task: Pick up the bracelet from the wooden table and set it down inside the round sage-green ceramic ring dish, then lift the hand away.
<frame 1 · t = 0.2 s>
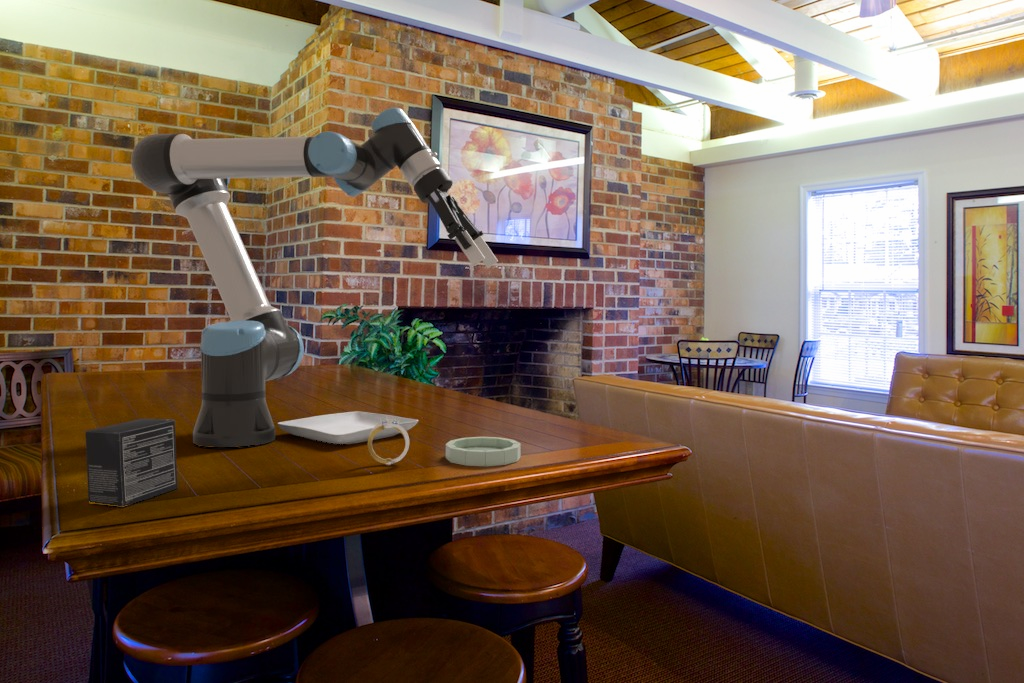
hand: (486, 263, 146), 35 cm above the table, tool tilted 35°, fingers open, 13 cm apart
bracelet: (388, 465, 124), on the table
salad plate: (348, 437, 151), on the table
small box: (134, 497, 104), on the table
ring dish: (483, 457, 130), on the table
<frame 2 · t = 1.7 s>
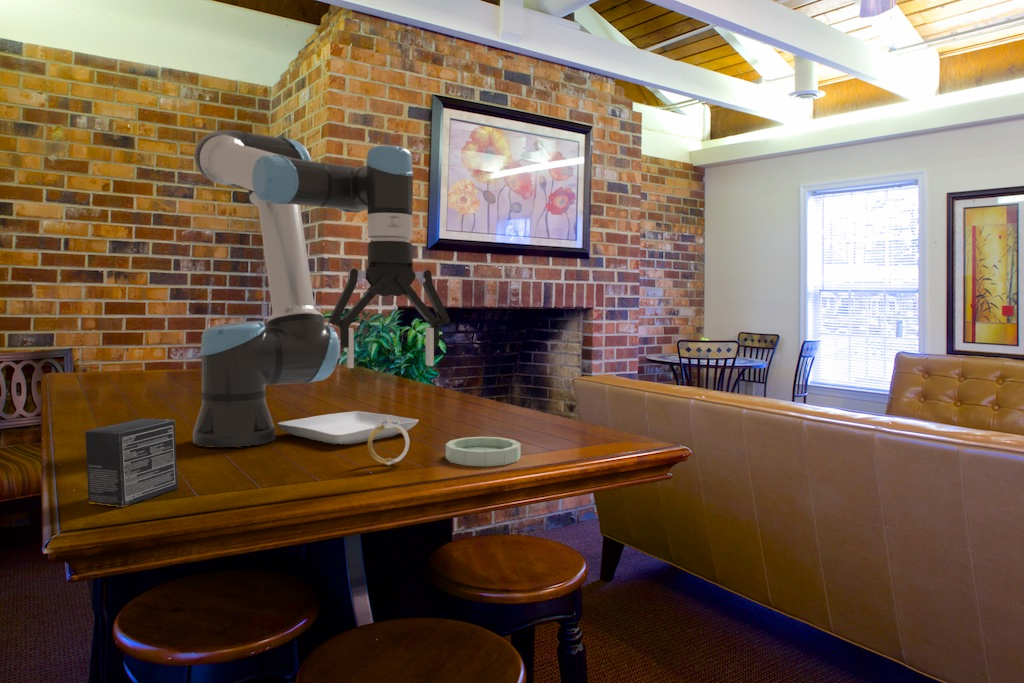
hand: (390, 366, 124), 17 cm above the table, tool pointing down, fingers open, 13 cm apart
nothing on the table moved.
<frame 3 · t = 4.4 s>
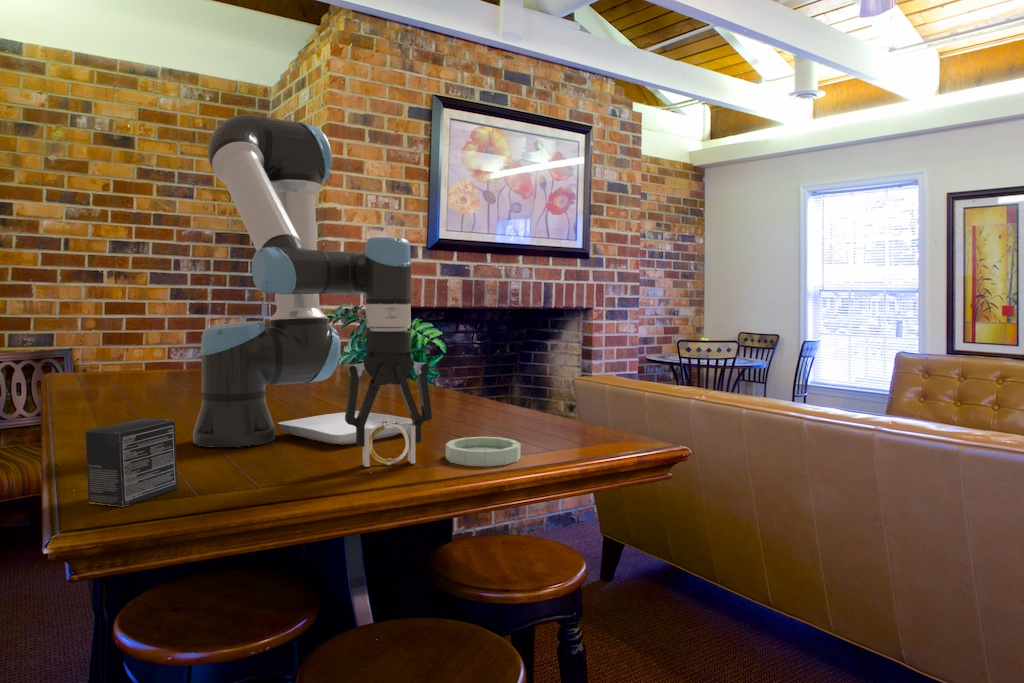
hand: (389, 463, 124), 0 cm above the table, tool pointing down, fingers closed on bracelet, 7 cm apart
bracelet: (388, 465, 124), on the table, touching gripper
everything else where it was.
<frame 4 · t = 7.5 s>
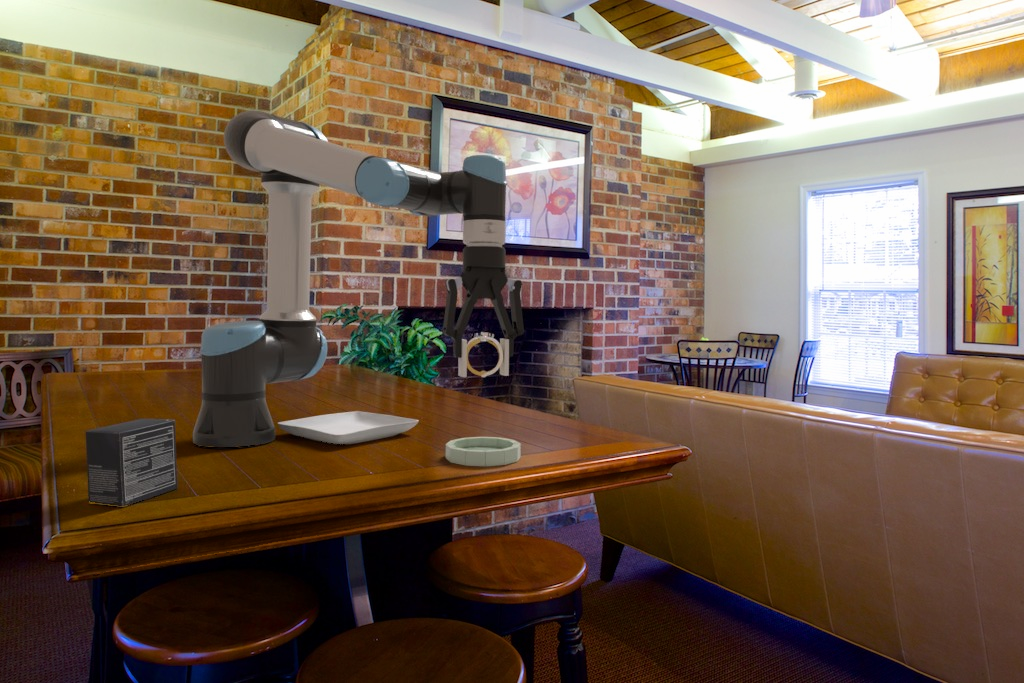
hand: (483, 375, 129), 15 cm above the table, tool pointing down, fingers closed on bracelet, 7 cm apart
bracelet: (483, 378, 129), point 14 cm above the table, touching gripper
everything else where it was.
when the fingers open (3 cm above the table, at t = 10.4 s): bracelet drops 1 cm, resting on ring dish.
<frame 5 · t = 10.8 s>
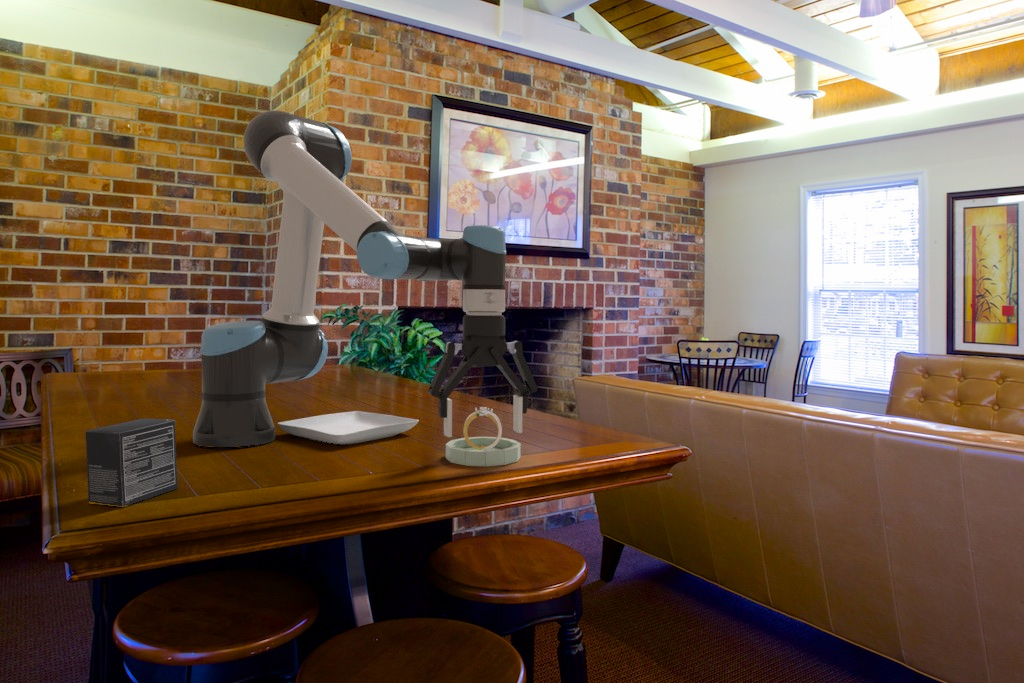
hand: (483, 433, 130), 4 cm above the table, tool pointing down, fingers open, 12 cm apart
bracelet: (482, 452, 130), point 1 cm above the table, touching ring dish
everything else where it was.
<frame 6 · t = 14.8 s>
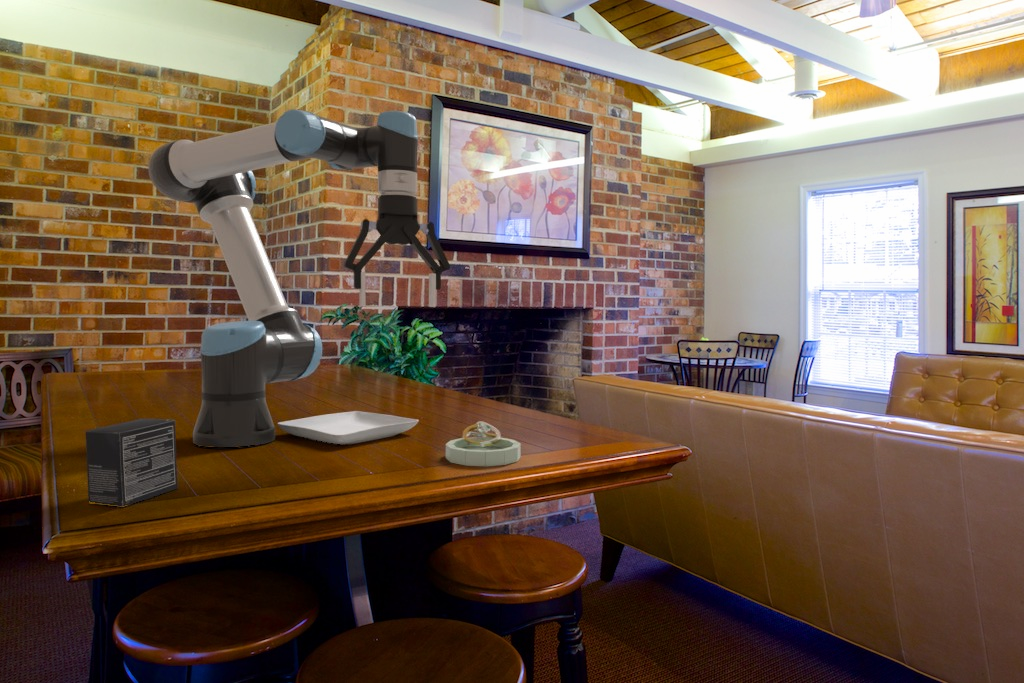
hand: (397, 306, 140), 27 cm above the table, tool pointing down, fingers open, 13 cm apart
bracelet: (482, 445, 130), point 2 cm above the table, touching ring dish
everything else where it was.
at the end: bracelet inside the target area on the ring dish (0.2 cm from its centre), point 2.2 cm above the ring dish's base; the gripper is holding nothing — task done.
